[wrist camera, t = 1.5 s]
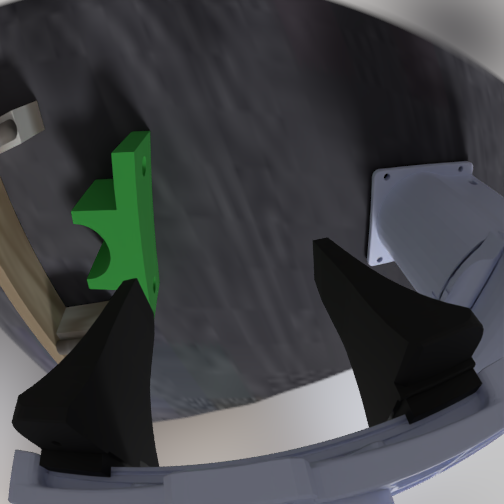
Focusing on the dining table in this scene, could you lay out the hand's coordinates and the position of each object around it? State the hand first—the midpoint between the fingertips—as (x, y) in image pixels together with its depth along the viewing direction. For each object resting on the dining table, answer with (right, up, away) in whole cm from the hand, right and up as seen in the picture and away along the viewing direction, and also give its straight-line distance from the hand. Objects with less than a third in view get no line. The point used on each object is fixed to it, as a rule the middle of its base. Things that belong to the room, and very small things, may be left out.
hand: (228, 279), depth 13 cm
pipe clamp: (-7, +4, +7) cm, 11 cm away
